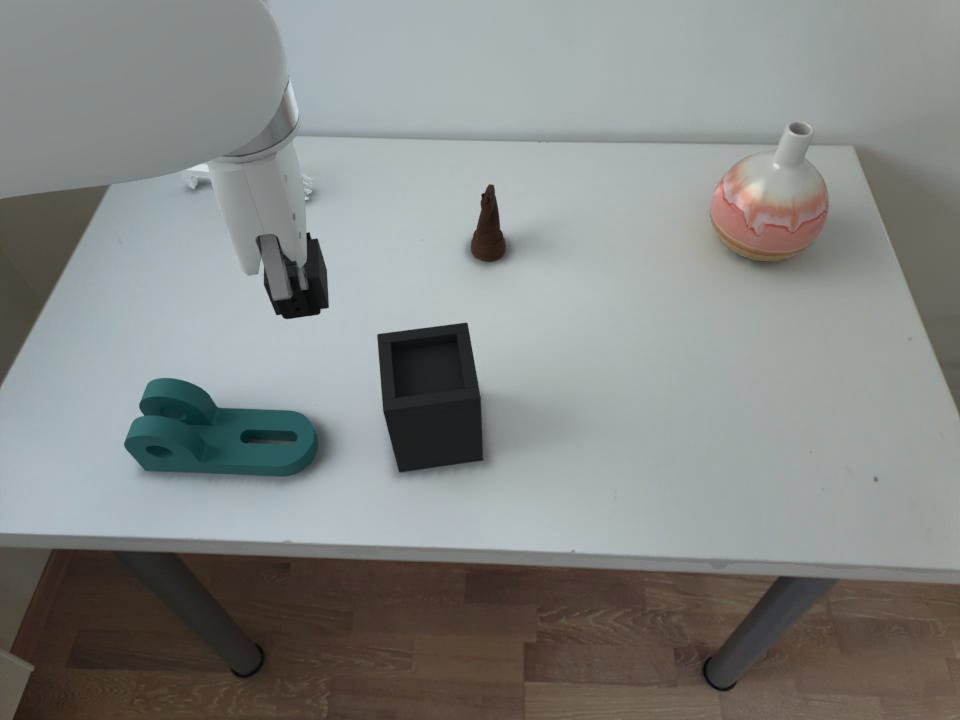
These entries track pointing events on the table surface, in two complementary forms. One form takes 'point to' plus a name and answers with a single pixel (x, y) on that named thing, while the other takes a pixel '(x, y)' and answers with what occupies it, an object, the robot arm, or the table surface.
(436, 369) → the black rectangular box
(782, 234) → the vase
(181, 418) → the bracket
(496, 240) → the chess piece
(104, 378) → the table surface
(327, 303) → the dark grey cube
